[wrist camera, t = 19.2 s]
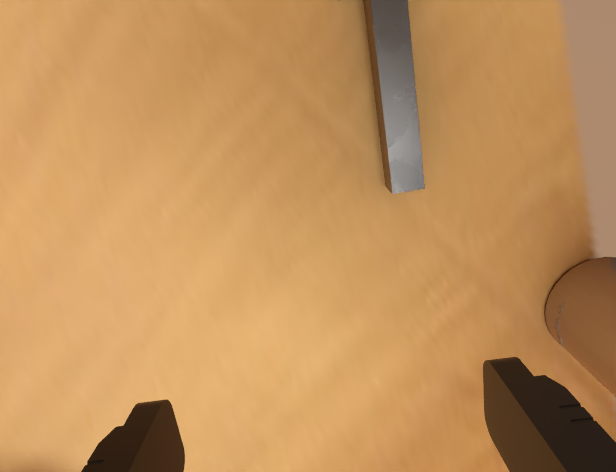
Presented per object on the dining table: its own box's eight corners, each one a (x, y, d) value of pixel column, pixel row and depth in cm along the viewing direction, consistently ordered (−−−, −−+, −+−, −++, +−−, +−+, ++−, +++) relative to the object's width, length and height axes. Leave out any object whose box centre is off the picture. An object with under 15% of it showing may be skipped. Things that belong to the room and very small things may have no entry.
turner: (320, -132, 29) (321, -158, 26) (410, -151, 28) (421, -179, 25) (363, 190, 35) (368, 198, 32) (437, 177, 35) (449, 184, 32)
